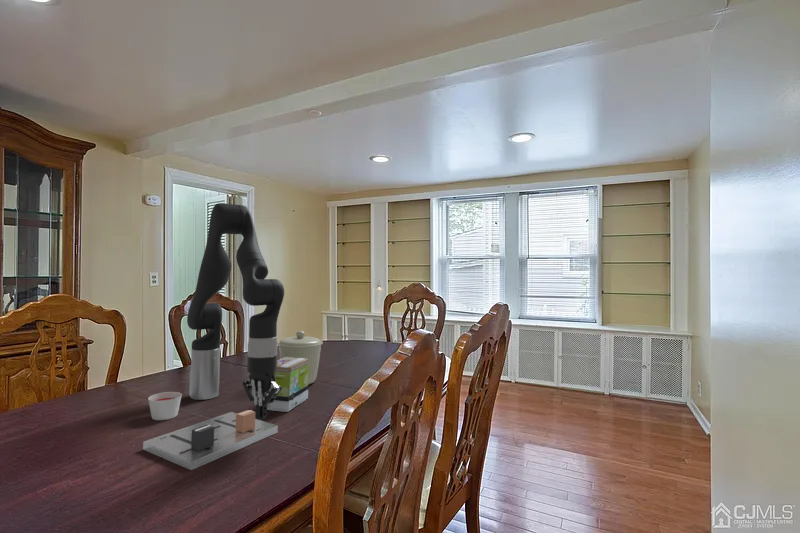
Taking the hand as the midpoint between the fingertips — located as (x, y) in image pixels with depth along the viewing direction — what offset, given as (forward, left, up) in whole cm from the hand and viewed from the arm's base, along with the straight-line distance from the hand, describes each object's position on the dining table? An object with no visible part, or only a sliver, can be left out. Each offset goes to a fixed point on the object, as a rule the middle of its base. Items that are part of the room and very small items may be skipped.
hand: (261, 418), depth 110 cm
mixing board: (-11, -6, -6) cm, 14 cm away
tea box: (-17, +26, -7) cm, 32 cm away
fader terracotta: (-6, 0, -4) cm, 7 cm away
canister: (-32, +48, -7) cm, 58 cm away
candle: (-39, -3, -7) cm, 40 cm away
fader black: (-6, -13, -4) cm, 15 cm away
